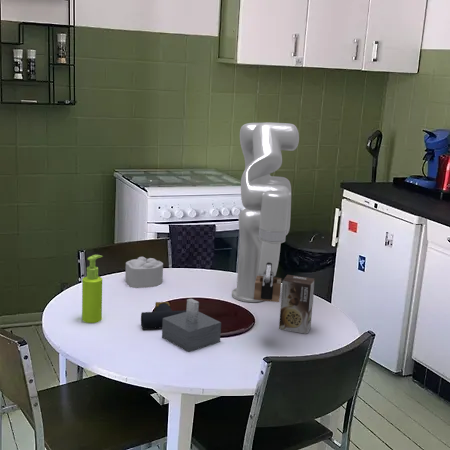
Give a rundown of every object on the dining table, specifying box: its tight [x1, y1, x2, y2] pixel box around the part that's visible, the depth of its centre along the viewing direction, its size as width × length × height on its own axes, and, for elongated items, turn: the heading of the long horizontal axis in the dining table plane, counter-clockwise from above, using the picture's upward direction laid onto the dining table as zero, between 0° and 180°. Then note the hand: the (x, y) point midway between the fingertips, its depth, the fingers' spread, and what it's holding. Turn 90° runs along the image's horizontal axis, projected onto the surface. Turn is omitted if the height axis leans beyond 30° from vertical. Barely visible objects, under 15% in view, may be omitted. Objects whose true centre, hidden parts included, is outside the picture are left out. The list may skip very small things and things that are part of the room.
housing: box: [161, 298, 222, 353], centre depth 189 cm, size 12×12×12 cm
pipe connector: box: [140, 301, 187, 330], centre depth 201 cm, size 12×5×15 cm
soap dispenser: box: [81, 254, 104, 324], centre depth 198 cm, size 6×7×20 cm
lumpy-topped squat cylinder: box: [124, 256, 164, 289], centre depth 234 cm, size 10×13×9 cm
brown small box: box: [254, 276, 283, 303], centre depth 188 cm, size 6×7×5 cm
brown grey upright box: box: [278, 274, 316, 335], centre depth 201 cm, size 9×6×16 cm
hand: (267, 293), depth 188 cm, fingers closed on brown small box, 6 cm apart
